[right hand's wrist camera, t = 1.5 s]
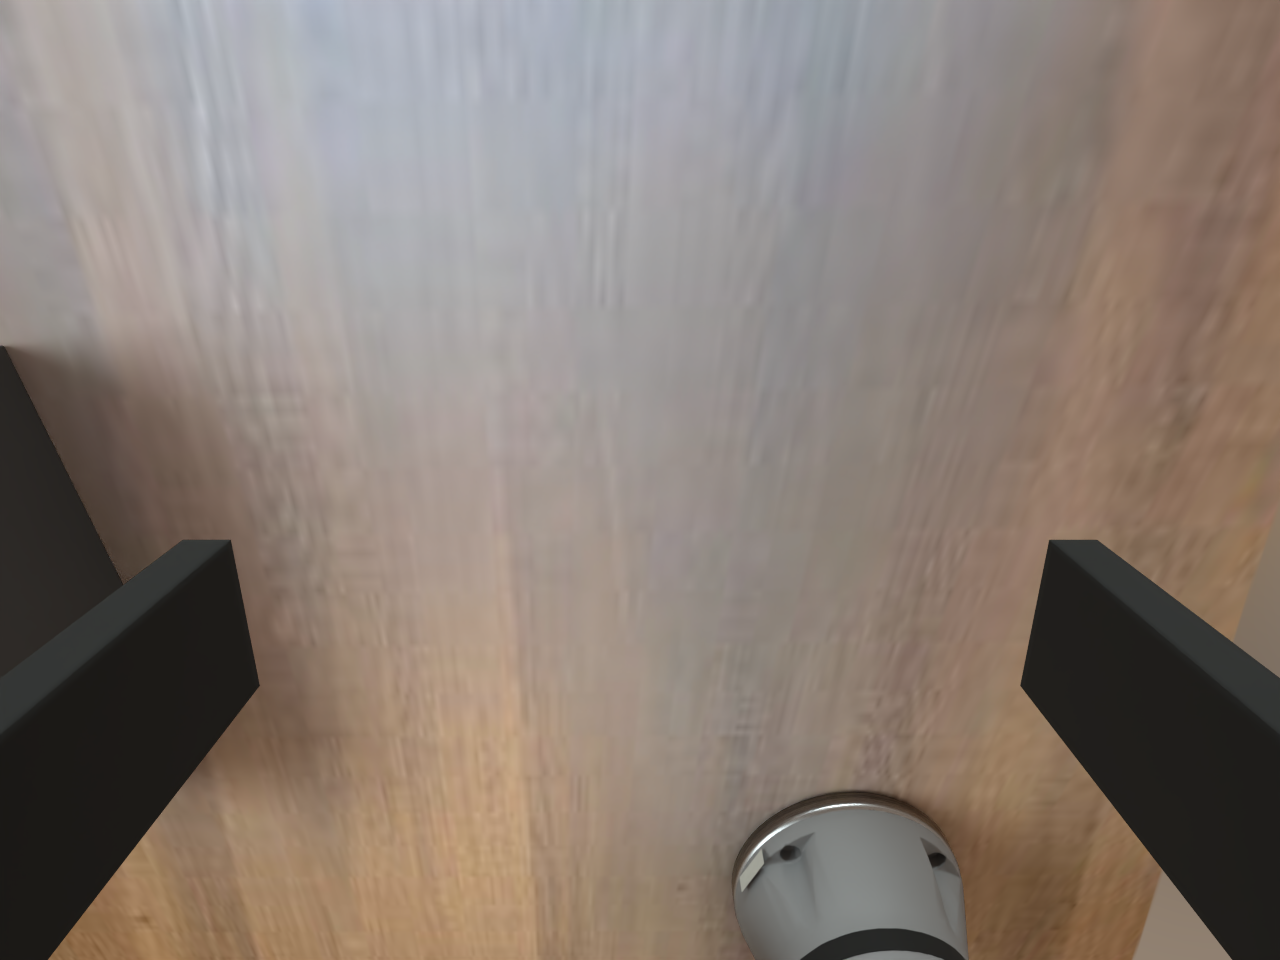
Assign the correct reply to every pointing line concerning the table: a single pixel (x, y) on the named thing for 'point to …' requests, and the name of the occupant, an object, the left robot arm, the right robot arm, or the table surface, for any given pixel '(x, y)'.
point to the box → (41, 534)
